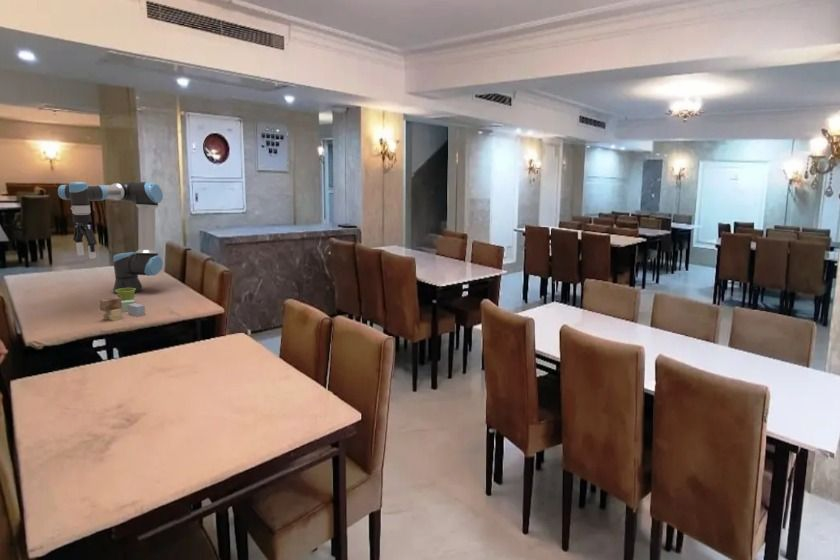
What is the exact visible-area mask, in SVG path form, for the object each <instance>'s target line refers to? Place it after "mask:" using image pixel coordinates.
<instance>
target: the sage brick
mask: <svg viewBox="0 0 840 560" xmlns="http://www.w3.org/2000/svg"><path fill="white" fill-rule="evenodd" d="M121 303H122V308H120V309H121V313H123V312H124V313H125V312H128V304H133V303H136V301H135V299H134V300H126V301H121Z"/></svg>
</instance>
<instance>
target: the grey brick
mask: <svg viewBox="0 0 840 560" xmlns="http://www.w3.org/2000/svg"><path fill="white" fill-rule="evenodd" d="M127 312H128V315H131V316H134V317H141V316H145V315H146V309H145V304H141V303H136V302H135V303H133V304H128V311H127Z"/></svg>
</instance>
